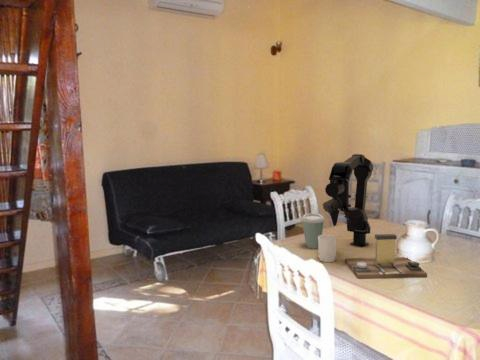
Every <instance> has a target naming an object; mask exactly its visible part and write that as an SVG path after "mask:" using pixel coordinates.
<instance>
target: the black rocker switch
mask: <svg viewBox="0 0 480 360" xmlns="http://www.w3.org/2000/svg"><path fill="white" fill-rule="evenodd" d="M408 264H409V265H411V266H419V267H420V262H417V261H412V262H408Z"/></svg>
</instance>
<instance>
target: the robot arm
mask: <svg viewBox="0 0 480 360" xmlns="http://www.w3.org/2000/svg"><path fill="white" fill-rule="evenodd" d="M373 171H374V165H373V163H372V161H371V160H370V159H369V158H366V156H365V155H364V154H360V153H354V154H352V155H351V156H350V157H348V158H347V159H346V160H344V161H339V162H338V161H337V162H335V163H334V164H333V165H332V167H331V170H330V173H329V177H328V180H329V183H328V184H327V185H326V186H325V188H324V189H325V193H326V195H327V196H328V197H330V198H331V199H329V200H326V201H324V203H322V207H323V208H322V209H323V210H324V212H327V213H328V214H329V216H330V219H331V223H332V226H333V227H336V226H337V223H338V219H339V215H340V212H344V218H345V220H346V229H347V232H350V233H351V232H352V234H353V237H352V242H351V243H350V245H351V246H356V247H360V248H364V247H365V246H368V245H369V242H367V235H369V234H371V230H372V229H371V228H372V227H371V225H370V223H369V217H368V216H367V214H366V200H367V189H368V181H369V179H370V178H371V177H372V175H373V174H372V173H373ZM352 174H353V175H354V177H355V179H356V185H355V197H354V198H355V199H354V207H352V205H351V203H349V202H350V199H351V198H352V194H349V193H350V181H351V177H352Z"/></svg>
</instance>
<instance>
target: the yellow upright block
mask: <svg viewBox="0 0 480 360" xmlns="http://www.w3.org/2000/svg"><path fill="white" fill-rule="evenodd" d="M397 238H398V237H397V235H396V234H395V233H390V234H388V233H384V234H383V233H382V234H381V233H380V234H377V233H376V234H374V239H375V256H374V258H375V262H376V263H377V264H378V265H379V266H380V267H381V268H393V265H392V264H391V263H395V257H396V240H397Z"/></svg>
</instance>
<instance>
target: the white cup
mask: <svg viewBox="0 0 480 360" xmlns="http://www.w3.org/2000/svg"><path fill="white" fill-rule="evenodd" d="M337 243H338V236H336V235H332V234H322V235H319V236H318V248H317V249H318V250H317V251H318V259H319V261H321V262H323V263H333V262H335V261H336V254H337Z"/></svg>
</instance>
